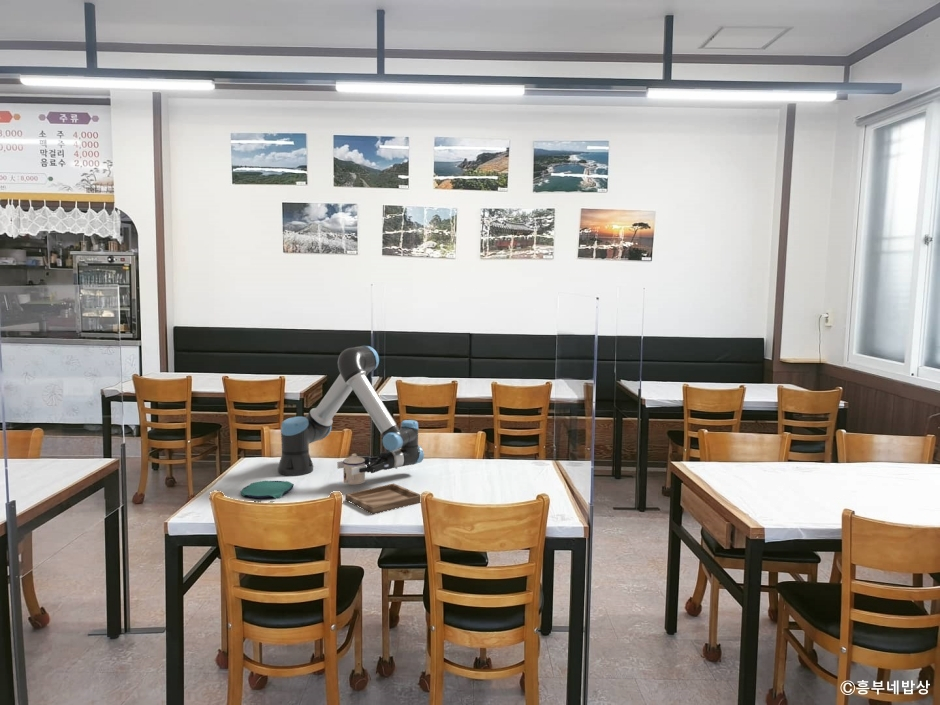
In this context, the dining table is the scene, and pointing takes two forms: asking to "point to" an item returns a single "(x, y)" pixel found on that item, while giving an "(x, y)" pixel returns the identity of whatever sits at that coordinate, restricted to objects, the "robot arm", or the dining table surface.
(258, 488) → the green cloth
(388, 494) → the walnut tray
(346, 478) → the teacup with lid
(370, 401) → the robot arm
